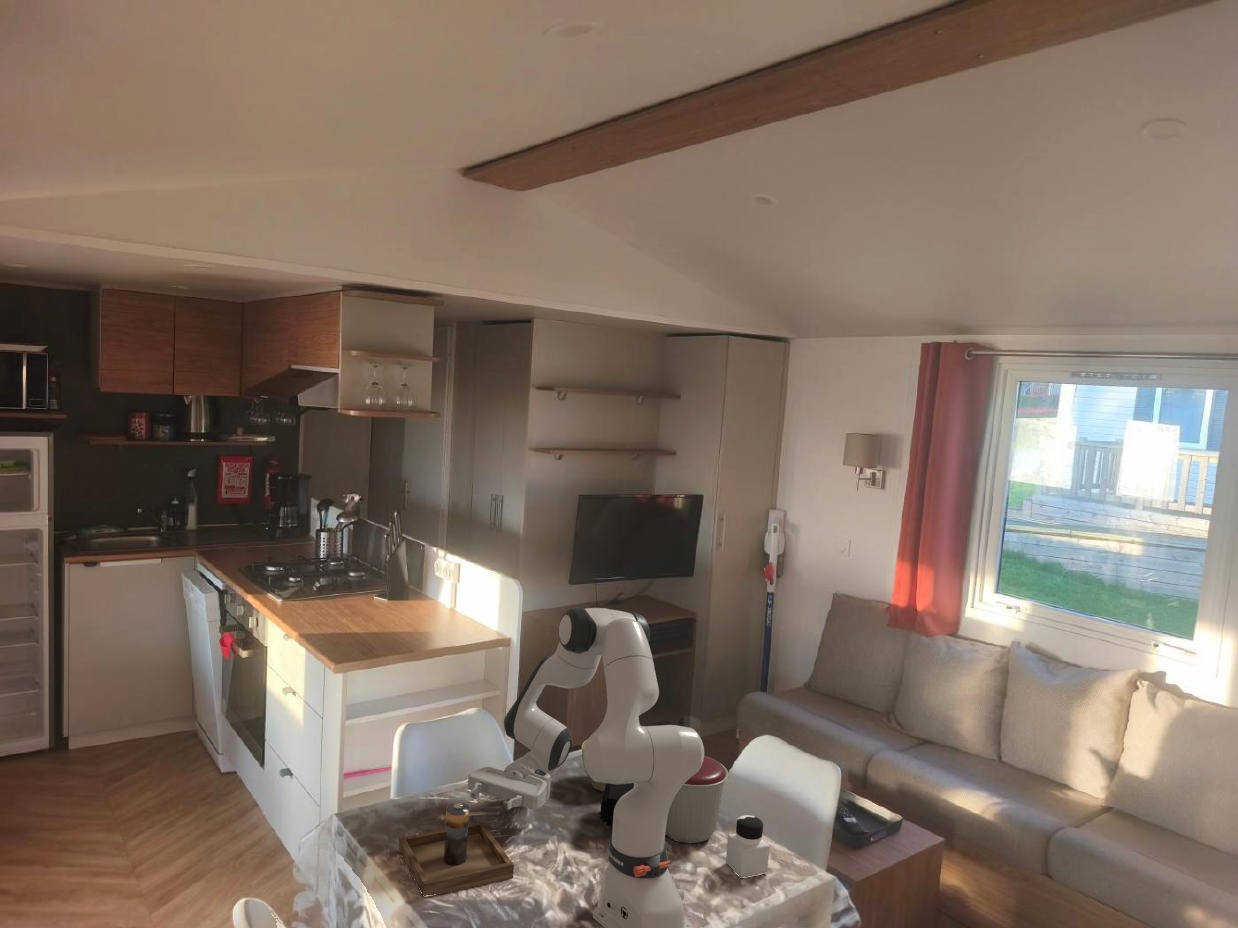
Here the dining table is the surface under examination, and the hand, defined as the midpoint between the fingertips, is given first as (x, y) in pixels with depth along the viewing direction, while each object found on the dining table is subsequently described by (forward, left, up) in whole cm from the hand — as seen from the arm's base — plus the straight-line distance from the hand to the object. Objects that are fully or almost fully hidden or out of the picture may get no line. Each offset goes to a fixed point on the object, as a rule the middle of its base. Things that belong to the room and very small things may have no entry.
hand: (489, 800), depth 203 cm
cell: (-7, +10, -8) cm, 15 cm away
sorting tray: (-7, +10, -9) cm, 16 cm away
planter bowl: (+15, -41, -10) cm, 44 cm away
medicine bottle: (-34, -51, -10) cm, 62 cm away
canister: (-15, -47, -10) cm, 50 cm away
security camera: (-4, -33, -10) cm, 35 cm away
